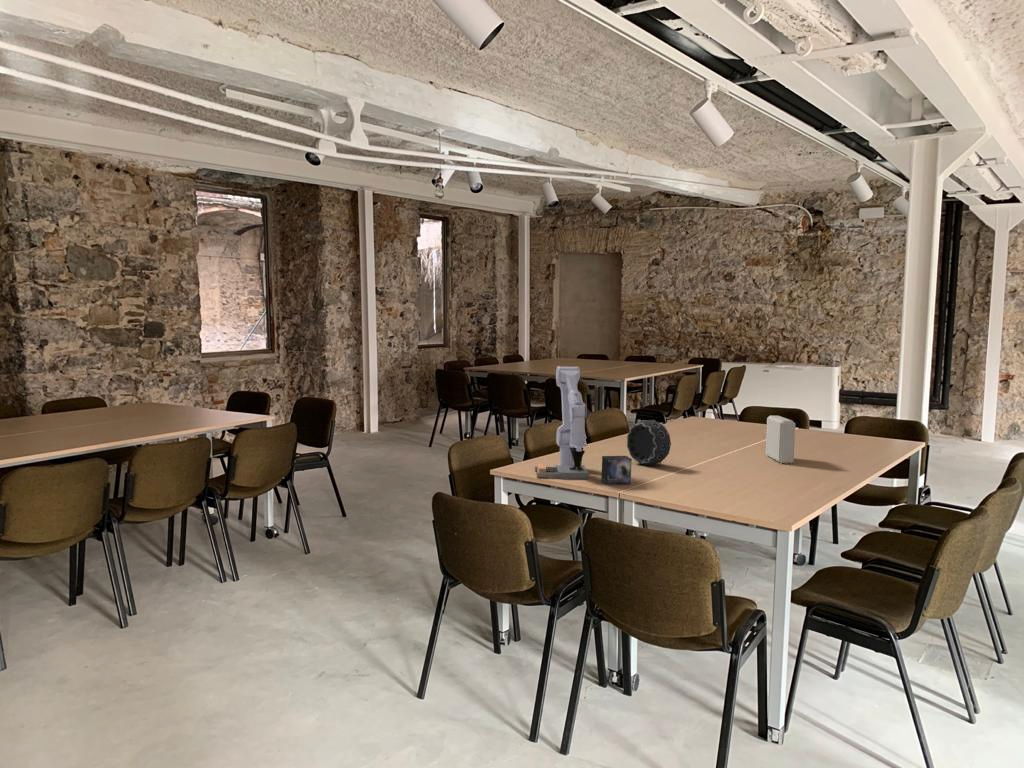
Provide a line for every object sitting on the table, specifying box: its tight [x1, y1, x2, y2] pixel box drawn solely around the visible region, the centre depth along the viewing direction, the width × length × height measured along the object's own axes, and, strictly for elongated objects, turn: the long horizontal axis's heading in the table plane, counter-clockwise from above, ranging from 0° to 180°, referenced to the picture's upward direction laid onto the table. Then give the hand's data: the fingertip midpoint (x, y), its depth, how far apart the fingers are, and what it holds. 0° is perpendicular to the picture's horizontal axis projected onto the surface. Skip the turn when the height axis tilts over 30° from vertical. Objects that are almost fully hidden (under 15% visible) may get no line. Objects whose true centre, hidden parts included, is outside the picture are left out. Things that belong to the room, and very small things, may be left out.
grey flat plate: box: [534, 464, 590, 480], centre depth 312 cm, size 16×21×2 cm
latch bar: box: [536, 463, 547, 473], centre depth 311 cm, size 10×3×4 cm, turn 1°
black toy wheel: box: [626, 419, 672, 466], centre depth 337 cm, size 11×20×20 cm, turn 35°
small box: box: [600, 455, 633, 485], centre depth 297 cm, size 11×6×10 cm, turn 101°
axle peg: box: [573, 459, 583, 470], centre depth 311 cm, size 4×4×7 cm
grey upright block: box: [765, 415, 796, 464], centre depth 354 cm, size 21×8×20 cm, turn 179°
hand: (576, 465), depth 311 cm, fingers closed on axle peg, 4 cm apart
